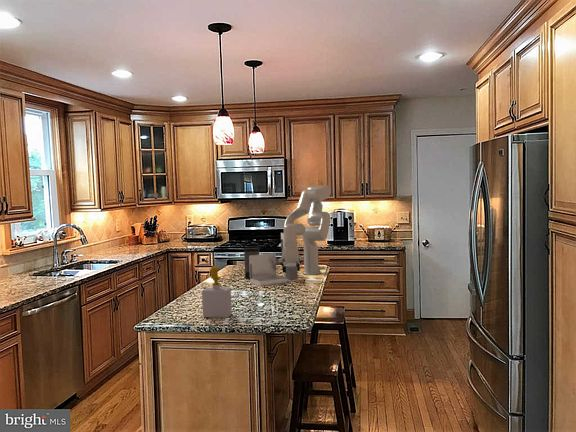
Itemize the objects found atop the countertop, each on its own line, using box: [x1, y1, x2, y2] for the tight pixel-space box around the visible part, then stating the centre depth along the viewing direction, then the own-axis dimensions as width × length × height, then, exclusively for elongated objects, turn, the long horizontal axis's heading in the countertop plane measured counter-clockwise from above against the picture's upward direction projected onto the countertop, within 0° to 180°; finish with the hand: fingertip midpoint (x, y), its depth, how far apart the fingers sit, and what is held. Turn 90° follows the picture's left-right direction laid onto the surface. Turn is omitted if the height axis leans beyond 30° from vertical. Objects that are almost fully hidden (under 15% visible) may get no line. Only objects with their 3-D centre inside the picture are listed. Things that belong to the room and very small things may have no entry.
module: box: [284, 265, 299, 280], centre depth 308 cm, size 5×7×8 cm
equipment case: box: [249, 252, 288, 287], centre depth 301 cm, size 18×14×17 cm
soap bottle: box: [201, 265, 233, 319], centre depth 227 cm, size 12×7×23 cm, turn 80°
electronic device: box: [243, 247, 260, 280], centre depth 316 cm, size 9×6×20 cm, turn 84°
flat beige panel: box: [287, 277, 304, 283], centre depth 309 cm, size 10×12×1 cm
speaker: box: [280, 231, 297, 266], centre depth 356 cm, size 11×10×26 cm
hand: (291, 271), depth 308 cm, fingers open, 9 cm apart
